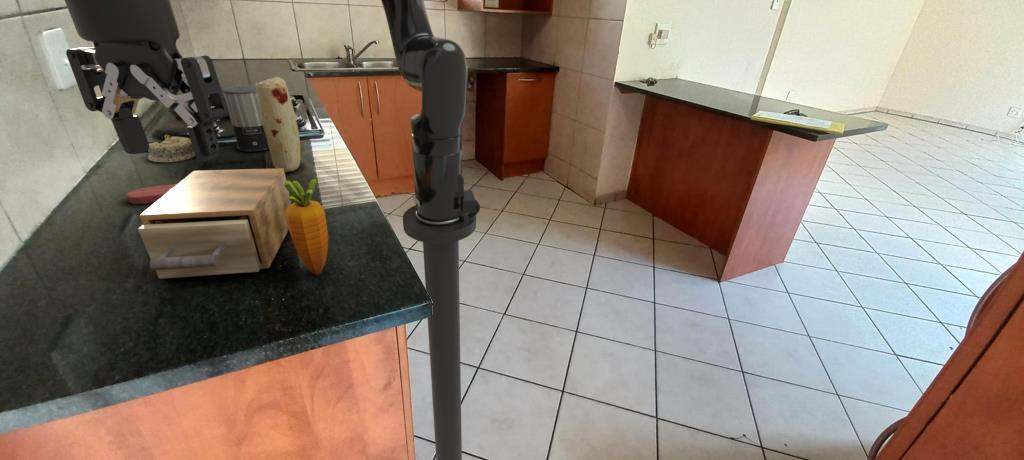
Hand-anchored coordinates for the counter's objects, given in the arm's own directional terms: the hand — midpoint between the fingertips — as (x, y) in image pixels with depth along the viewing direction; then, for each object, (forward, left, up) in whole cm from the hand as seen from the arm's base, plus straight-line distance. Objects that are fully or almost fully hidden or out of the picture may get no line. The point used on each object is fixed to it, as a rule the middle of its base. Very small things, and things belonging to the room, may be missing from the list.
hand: (173, 155), depth 46 cm
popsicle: (+20, -37, -20) cm, 47 cm away
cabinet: (+3, -16, -20) cm, 26 cm away
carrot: (-11, -5, -20) cm, 23 cm away
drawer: (+3, -11, -19) cm, 22 cm away
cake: (+31, -62, -20) cm, 72 cm away
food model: (+3, -51, -20) cm, 55 cm away
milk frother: (+14, -72, -20) cm, 76 cm away
